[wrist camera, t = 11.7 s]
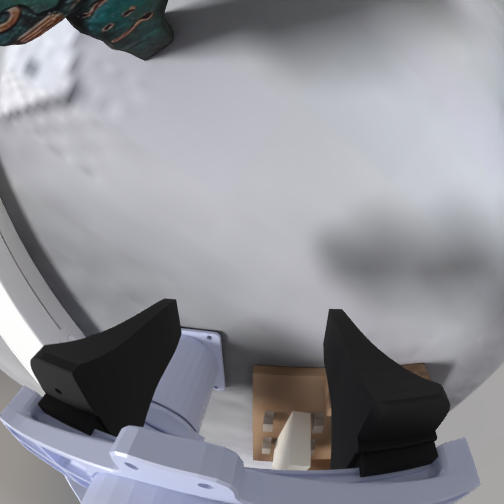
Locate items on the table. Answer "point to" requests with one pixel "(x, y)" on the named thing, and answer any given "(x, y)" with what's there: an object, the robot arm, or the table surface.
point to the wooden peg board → (296, 408)
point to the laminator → (28, 301)
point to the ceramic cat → (90, 22)
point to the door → (294, 444)
